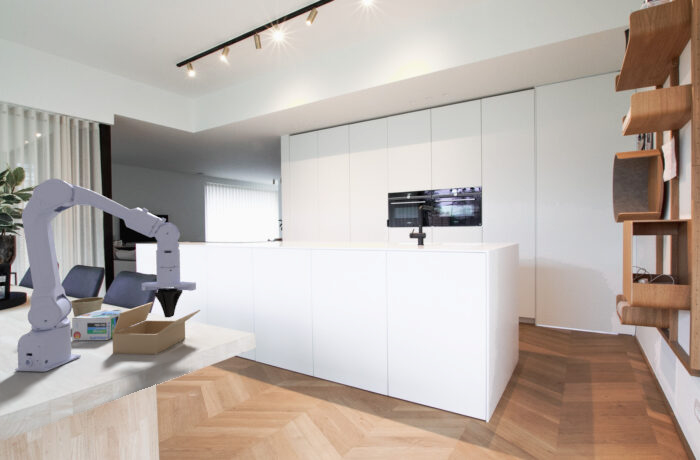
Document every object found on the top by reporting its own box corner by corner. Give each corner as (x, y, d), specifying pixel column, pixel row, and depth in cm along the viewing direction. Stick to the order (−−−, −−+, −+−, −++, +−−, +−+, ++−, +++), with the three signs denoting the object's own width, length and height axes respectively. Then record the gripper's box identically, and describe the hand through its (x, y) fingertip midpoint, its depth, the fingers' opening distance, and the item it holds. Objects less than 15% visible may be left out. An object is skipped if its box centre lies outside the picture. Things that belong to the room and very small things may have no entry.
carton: (156, 354, 91) (155, 334, 91) (112, 353, 92) (112, 333, 92) (185, 338, 104) (184, 320, 103) (146, 337, 105) (146, 320, 105)
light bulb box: (131, 309, 113) (107, 317, 102) (131, 330, 113) (107, 340, 102) (98, 309, 113) (70, 317, 102) (98, 330, 113) (70, 341, 102)
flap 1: (121, 312, 92) (120, 312, 92) (113, 333, 92) (112, 332, 92) (153, 302, 104) (152, 302, 104) (145, 320, 104) (144, 319, 104)
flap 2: (157, 333, 91) (157, 334, 91) (174, 321, 90) (174, 322, 90) (184, 320, 103) (185, 321, 103) (199, 309, 103) (200, 310, 103)
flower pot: (62, 328, 116) (61, 302, 115) (91, 321, 125) (90, 296, 124) (83, 330, 113) (83, 303, 113) (111, 322, 122) (110, 297, 122)
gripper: (201, 265, 100) (202, 313, 100) (153, 265, 102) (154, 312, 102) (187, 268, 93) (188, 319, 93) (135, 268, 95) (136, 319, 95)
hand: (169, 316), depth 97 cm, fingers closed
